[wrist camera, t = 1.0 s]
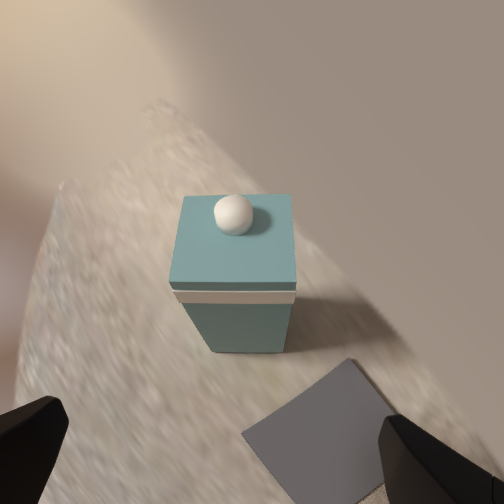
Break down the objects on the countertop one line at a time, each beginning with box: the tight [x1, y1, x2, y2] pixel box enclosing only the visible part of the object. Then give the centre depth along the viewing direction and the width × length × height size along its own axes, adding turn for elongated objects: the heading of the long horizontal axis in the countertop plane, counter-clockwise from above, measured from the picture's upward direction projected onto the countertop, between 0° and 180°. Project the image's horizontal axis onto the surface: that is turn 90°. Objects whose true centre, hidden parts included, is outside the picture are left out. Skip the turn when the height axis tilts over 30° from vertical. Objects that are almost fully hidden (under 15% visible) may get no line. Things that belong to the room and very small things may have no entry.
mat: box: [241, 358, 395, 504], centre depth 17 cm, size 9×9×1 cm
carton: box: [169, 194, 296, 353], centre depth 18 cm, size 5×5×12 cm
